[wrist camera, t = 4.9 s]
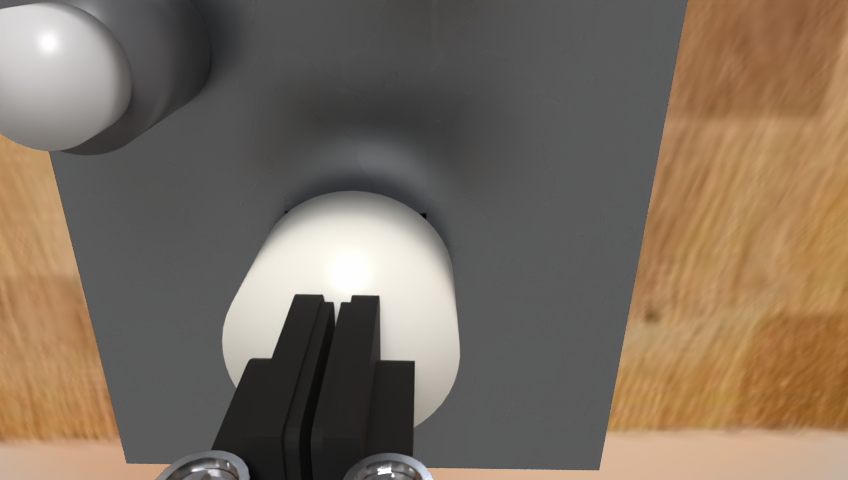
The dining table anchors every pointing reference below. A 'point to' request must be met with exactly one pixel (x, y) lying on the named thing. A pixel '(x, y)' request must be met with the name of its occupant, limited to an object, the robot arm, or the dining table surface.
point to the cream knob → (355, 285)
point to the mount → (400, 180)
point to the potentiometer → (96, 70)
